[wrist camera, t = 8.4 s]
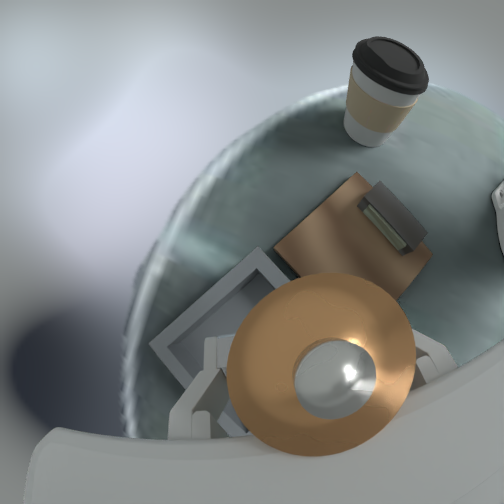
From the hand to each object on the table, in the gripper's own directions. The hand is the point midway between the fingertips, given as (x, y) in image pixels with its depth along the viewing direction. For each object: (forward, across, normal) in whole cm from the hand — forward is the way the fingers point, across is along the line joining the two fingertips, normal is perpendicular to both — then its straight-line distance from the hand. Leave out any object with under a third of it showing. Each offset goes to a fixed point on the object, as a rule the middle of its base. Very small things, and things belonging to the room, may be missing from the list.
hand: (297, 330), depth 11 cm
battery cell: (+4, 0, +5) cm, 7 cm away
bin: (+12, +3, +16) cm, 20 cm away
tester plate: (+17, -10, +10) cm, 22 cm away
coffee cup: (+29, -18, -2) cm, 34 cm away
